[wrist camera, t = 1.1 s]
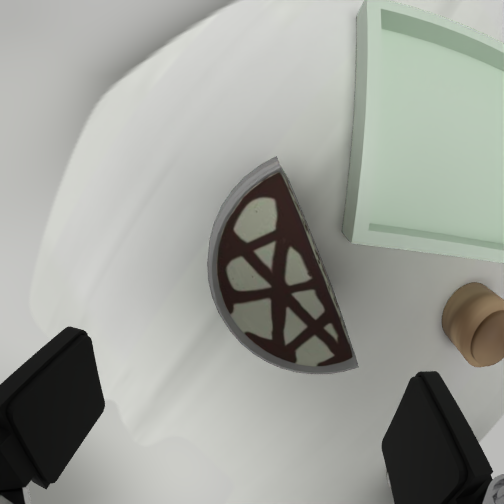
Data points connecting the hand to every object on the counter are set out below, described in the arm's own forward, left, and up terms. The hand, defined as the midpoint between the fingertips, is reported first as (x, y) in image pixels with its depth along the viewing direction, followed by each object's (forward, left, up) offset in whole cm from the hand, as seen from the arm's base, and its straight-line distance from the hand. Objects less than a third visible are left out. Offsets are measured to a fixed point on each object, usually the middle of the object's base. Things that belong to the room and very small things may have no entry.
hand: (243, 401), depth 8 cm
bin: (+11, -14, -18) cm, 25 cm away
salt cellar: (-4, -19, -18) cm, 26 cm away
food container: (0, 0, -18) cm, 18 cm away
